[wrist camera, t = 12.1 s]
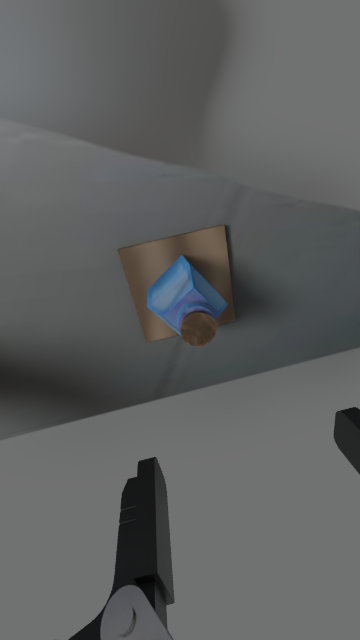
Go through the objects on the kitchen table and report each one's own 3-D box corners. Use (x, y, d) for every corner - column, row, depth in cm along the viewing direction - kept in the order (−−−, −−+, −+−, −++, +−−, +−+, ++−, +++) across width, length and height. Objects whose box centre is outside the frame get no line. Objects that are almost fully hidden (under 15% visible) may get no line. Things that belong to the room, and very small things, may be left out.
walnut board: (146, 339, 35) (146, 342, 34) (118, 249, 29) (117, 249, 29) (234, 318, 35) (235, 320, 35) (222, 224, 30) (224, 225, 29)
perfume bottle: (214, 288, 32) (248, 328, 21) (181, 319, 33) (196, 372, 23) (181, 254, 30) (201, 279, 19) (147, 289, 31) (147, 332, 20)
